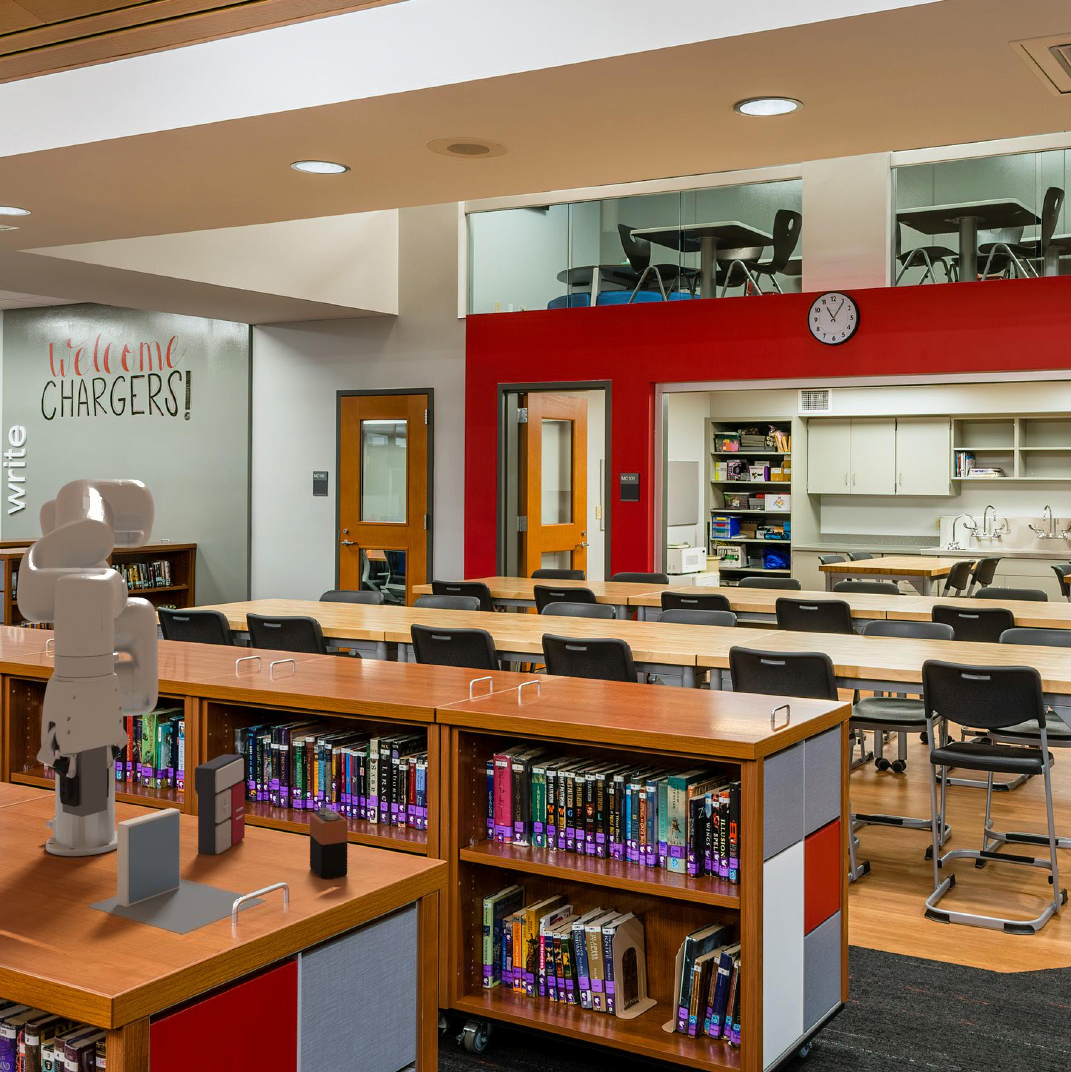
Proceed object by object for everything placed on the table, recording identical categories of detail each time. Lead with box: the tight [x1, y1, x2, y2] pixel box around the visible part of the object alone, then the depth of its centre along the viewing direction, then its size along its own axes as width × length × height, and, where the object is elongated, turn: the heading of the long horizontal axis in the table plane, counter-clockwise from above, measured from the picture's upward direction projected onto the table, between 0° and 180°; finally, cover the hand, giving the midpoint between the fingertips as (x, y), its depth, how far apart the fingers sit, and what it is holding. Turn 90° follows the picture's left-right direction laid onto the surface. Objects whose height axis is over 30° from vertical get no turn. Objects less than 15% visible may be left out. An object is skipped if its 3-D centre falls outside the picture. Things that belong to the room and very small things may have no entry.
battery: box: [309, 807, 349, 880], centre depth 189 cm, size 4×7×10 cm, turn 28°
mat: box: [86, 878, 267, 935], centre depth 173 cm, size 20×16×1 cm
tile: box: [116, 807, 181, 907], centre depth 176 cm, size 2×10×12 cm, turn 149°
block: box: [63, 745, 107, 817], centre depth 159 cm, size 4×4×9 cm
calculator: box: [194, 753, 246, 856], centre depth 202 cm, size 11×4×15 cm, turn 168°
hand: (84, 799), depth 159 cm, fingers closed on block, 4 cm apart
